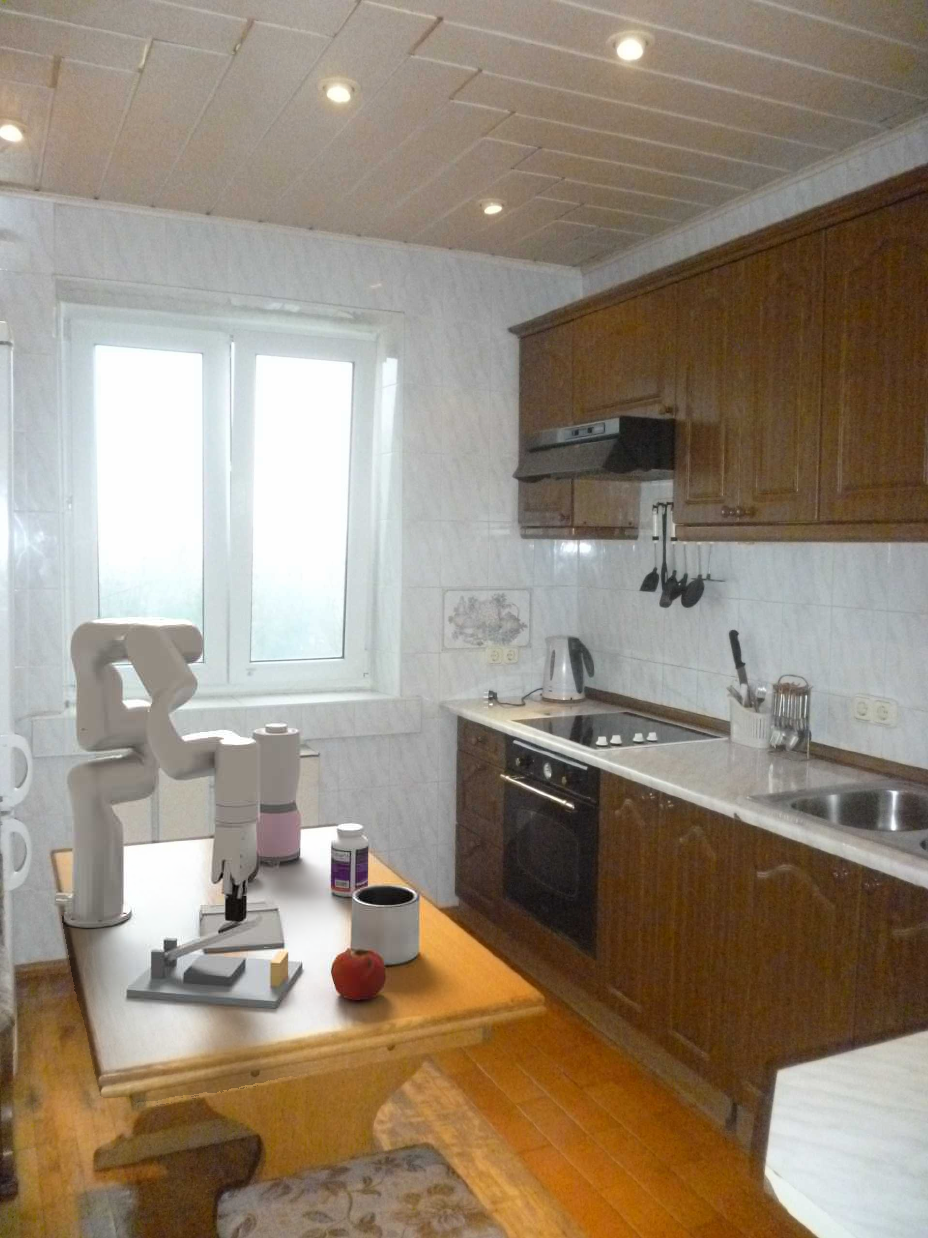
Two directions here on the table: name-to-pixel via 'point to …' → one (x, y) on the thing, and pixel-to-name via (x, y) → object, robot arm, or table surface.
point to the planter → (386, 922)
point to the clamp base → (216, 994)
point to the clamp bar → (213, 937)
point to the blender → (278, 794)
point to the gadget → (256, 937)
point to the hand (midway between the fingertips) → (235, 919)
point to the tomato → (358, 974)
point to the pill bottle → (349, 860)
